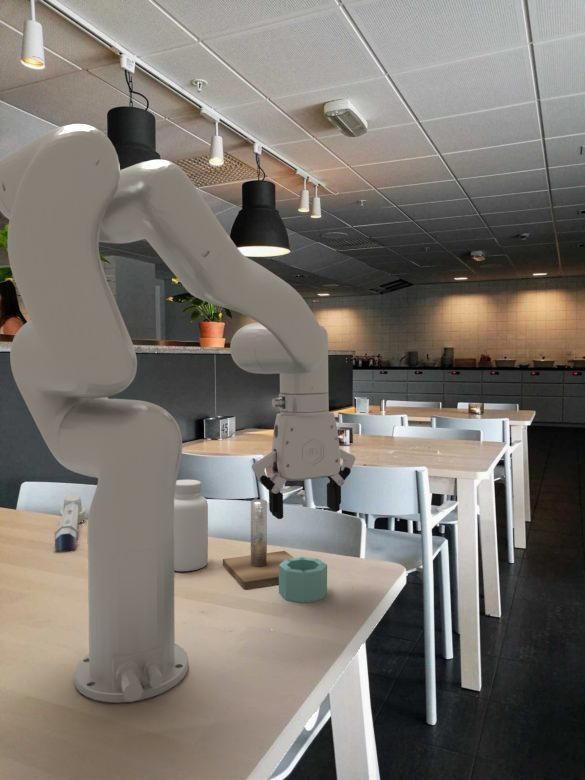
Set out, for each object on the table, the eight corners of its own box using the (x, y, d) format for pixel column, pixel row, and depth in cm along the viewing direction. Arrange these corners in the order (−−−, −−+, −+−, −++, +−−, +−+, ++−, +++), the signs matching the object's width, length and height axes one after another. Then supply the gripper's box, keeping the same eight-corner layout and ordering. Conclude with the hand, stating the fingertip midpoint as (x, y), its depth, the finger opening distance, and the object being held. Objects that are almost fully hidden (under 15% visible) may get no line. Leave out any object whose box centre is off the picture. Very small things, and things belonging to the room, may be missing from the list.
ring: (333, 597, 89) (333, 568, 89) (291, 605, 86) (291, 575, 86) (313, 582, 96) (313, 555, 95) (274, 588, 93) (274, 560, 93)
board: (312, 578, 97) (312, 571, 97) (244, 589, 92) (244, 582, 92) (284, 557, 108) (284, 550, 108) (222, 565, 103) (222, 559, 103)
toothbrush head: (50, 534, 110) (61, 489, 133) (51, 566, 111) (61, 517, 134) (79, 531, 111) (85, 488, 135) (80, 564, 113) (85, 515, 136)
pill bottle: (216, 561, 106) (216, 479, 105) (191, 575, 98) (190, 488, 98) (180, 555, 109) (180, 476, 108) (153, 568, 102) (152, 484, 101)
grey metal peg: (269, 565, 100) (269, 502, 100) (253, 567, 99) (253, 503, 98) (263, 560, 103) (263, 499, 102) (248, 562, 101) (248, 500, 101)
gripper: (260, 409, 83) (262, 526, 84) (365, 403, 90) (365, 512, 91) (243, 405, 90) (245, 513, 91) (342, 400, 97) (343, 501, 98)
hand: (305, 512), depth 91 cm, fingers open, 9 cm apart
